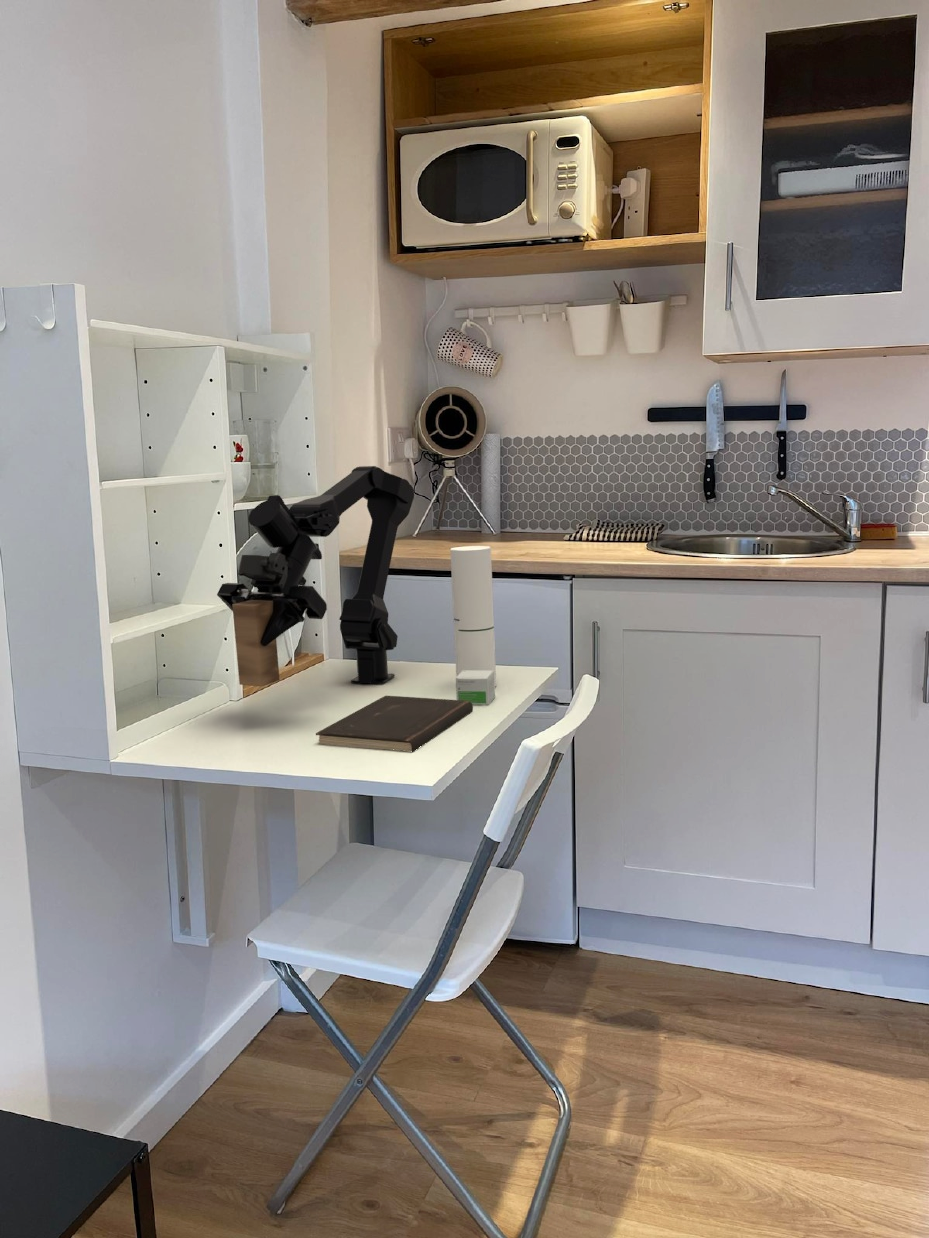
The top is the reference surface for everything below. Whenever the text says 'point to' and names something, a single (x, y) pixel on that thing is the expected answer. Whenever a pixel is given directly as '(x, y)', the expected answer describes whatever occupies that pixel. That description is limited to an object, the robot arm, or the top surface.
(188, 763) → the top surface
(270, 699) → the top surface
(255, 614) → the walnut block
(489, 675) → the small box
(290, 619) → the robot arm
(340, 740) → the hardcover book
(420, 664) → the top surface
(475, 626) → the cylindrical container
